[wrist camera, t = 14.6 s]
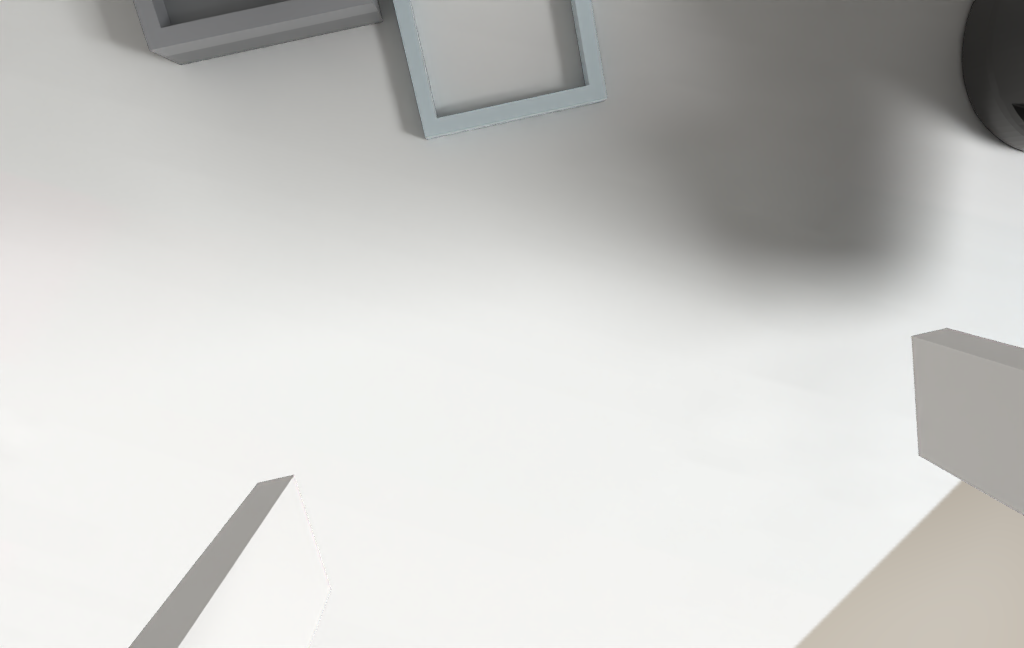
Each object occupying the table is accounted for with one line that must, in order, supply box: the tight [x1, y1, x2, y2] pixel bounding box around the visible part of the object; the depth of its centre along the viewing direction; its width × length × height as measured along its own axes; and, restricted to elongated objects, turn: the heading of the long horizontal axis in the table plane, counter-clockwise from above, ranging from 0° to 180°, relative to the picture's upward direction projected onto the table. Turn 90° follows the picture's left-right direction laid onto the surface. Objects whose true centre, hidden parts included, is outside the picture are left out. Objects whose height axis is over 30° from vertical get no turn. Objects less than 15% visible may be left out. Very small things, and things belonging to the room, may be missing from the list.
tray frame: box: [393, 0, 607, 139], centre depth 36 cm, size 12×13×1 cm
